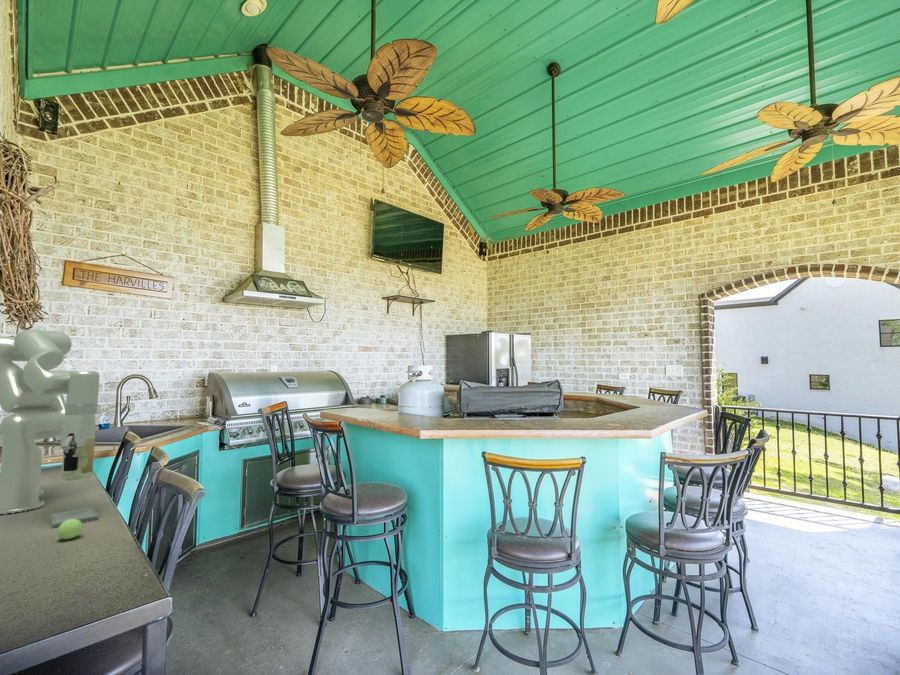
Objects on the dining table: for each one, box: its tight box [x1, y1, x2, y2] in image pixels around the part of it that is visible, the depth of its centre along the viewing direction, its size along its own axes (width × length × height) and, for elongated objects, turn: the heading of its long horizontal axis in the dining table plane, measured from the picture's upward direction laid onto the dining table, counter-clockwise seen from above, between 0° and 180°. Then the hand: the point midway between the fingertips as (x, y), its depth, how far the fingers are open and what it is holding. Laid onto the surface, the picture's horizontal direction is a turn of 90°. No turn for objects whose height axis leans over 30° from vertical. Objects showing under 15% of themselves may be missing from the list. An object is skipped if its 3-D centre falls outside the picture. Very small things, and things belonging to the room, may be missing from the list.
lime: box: [56, 519, 84, 541], centre depth 111 cm, size 5×5×5 cm
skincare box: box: [60, 437, 96, 482], centre depth 129 cm, size 6×4×12 cm
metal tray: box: [49, 506, 99, 529], centre depth 128 cm, size 14×10×1 cm
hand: (77, 467), depth 129 cm, fingers closed on skincare box, 7 cm apart
